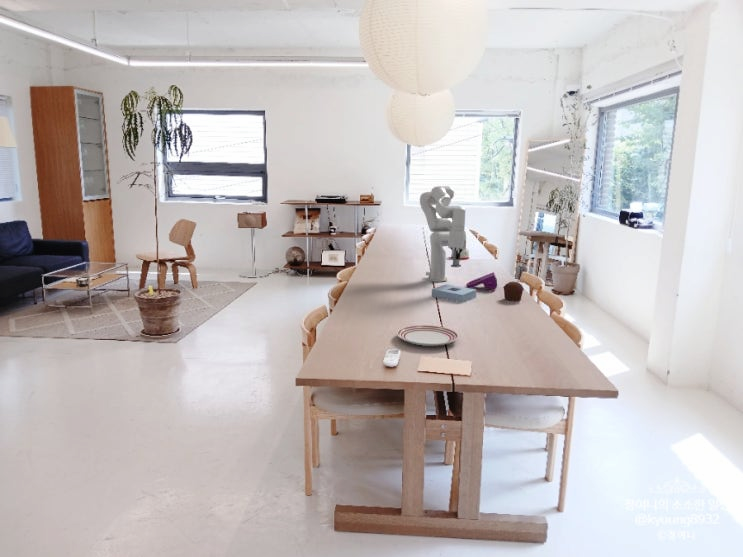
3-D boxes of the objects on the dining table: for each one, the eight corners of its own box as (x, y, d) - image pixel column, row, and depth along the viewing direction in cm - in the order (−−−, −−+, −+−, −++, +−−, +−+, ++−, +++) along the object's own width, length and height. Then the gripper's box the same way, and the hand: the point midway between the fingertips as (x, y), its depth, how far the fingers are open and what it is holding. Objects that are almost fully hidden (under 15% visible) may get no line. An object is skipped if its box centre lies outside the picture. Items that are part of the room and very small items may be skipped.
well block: (431, 296, 318) (431, 288, 317) (446, 291, 330) (446, 284, 329) (462, 302, 306) (462, 294, 305) (475, 297, 318) (476, 289, 317)
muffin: (512, 303, 307) (513, 285, 305) (498, 298, 316) (499, 281, 314) (527, 300, 313) (528, 283, 311) (512, 295, 323) (514, 279, 320)
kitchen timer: (471, 257, 436) (472, 239, 432) (464, 260, 424) (465, 241, 421) (455, 255, 443) (456, 237, 439) (448, 258, 431) (449, 239, 428)
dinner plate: (397, 329, 260) (398, 322, 260) (456, 331, 258) (456, 324, 257) (394, 349, 234) (395, 342, 233) (460, 352, 231) (460, 345, 231)
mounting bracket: (471, 298, 338) (499, 288, 333) (465, 286, 337) (493, 275, 332) (471, 294, 347) (499, 284, 342) (466, 282, 346) (493, 272, 341)
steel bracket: (450, 266, 330) (451, 250, 328) (455, 265, 334) (456, 249, 332) (456, 267, 328) (457, 250, 326) (460, 266, 332) (461, 249, 330)
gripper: (443, 227, 328) (442, 258, 332) (466, 230, 318) (464, 261, 323) (449, 226, 333) (448, 256, 338) (472, 229, 324) (471, 259, 328)
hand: (456, 258), depth 330 cm, fingers closed on steel bracket, 1 cm apart
